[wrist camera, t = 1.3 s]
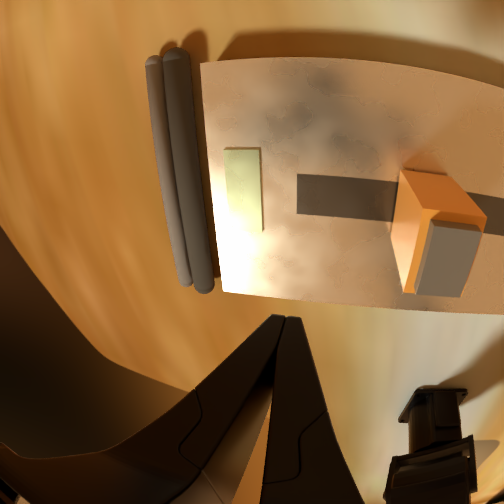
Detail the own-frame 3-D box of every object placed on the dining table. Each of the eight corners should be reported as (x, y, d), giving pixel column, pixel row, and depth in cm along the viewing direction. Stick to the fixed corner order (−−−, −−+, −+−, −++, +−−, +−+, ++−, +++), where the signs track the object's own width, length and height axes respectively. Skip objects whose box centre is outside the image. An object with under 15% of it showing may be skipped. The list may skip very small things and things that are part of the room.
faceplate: (519, 299, 18) (528, 316, 17) (231, 274, 24) (222, 292, 22) (570, 116, 11) (587, 123, 9) (213, 63, 16) (198, 63, 14)
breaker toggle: (437, 242, 16) (464, 305, 12) (390, 237, 17) (404, 301, 12) (451, 176, 14) (492, 224, 9) (400, 169, 15) (426, 215, 10)
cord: (218, 286, 25) (211, 299, 24) (184, 282, 26) (176, 294, 24) (193, 46, 16) (181, 44, 14) (150, 54, 16) (136, 54, 15)
